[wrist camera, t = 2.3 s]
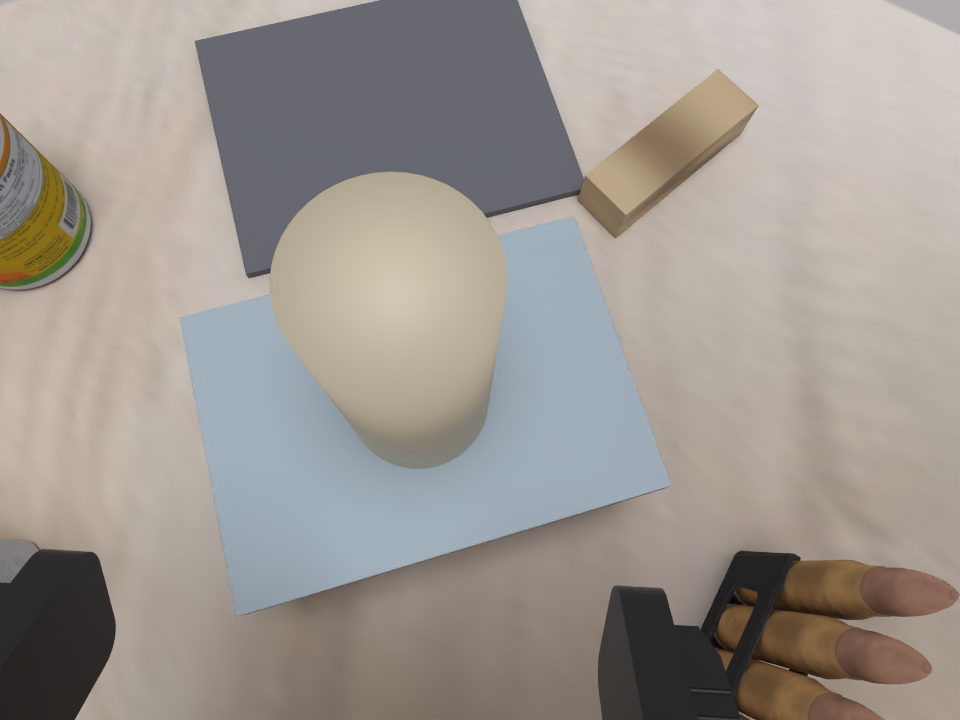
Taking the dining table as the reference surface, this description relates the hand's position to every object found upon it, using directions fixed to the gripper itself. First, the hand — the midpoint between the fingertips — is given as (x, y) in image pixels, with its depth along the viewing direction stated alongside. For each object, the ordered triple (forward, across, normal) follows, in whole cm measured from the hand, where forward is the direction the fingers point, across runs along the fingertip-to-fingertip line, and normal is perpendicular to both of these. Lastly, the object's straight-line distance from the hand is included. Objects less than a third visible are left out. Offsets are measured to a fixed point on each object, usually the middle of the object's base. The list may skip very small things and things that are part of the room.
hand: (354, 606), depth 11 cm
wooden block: (+25, -9, -1) cm, 27 cm away
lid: (+12, 0, +4) cm, 13 cm away
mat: (+26, +3, -3) cm, 26 cm away
